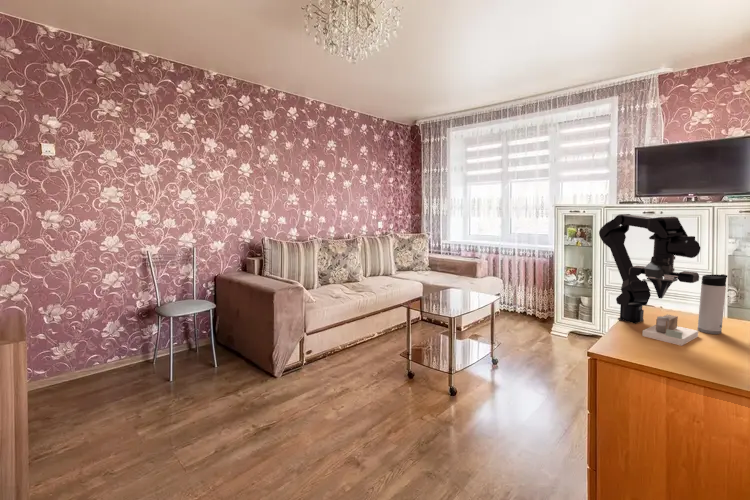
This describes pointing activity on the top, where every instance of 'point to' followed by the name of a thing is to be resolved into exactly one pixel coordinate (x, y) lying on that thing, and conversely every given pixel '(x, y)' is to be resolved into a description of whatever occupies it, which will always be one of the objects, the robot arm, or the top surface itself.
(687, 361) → the top surface
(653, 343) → the top surface
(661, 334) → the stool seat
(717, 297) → the travel mug
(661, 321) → the grey knobbed lever
